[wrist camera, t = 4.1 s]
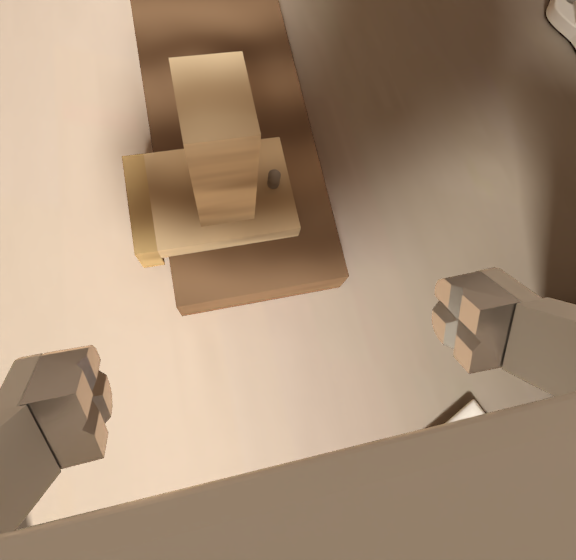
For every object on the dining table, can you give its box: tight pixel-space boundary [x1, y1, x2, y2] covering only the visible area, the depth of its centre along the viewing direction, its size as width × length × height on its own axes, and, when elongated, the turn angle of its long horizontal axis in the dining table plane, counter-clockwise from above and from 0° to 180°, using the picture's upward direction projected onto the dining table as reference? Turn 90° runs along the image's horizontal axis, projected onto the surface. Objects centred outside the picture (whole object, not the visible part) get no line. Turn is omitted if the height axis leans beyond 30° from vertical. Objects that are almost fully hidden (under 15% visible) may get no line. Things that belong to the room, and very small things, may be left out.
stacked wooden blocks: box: [122, 51, 301, 268], centre depth 22 cm, size 6×9×10 cm, turn 102°
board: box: [130, 0, 349, 316], centre depth 29 cm, size 22×10×2 cm, turn 12°
